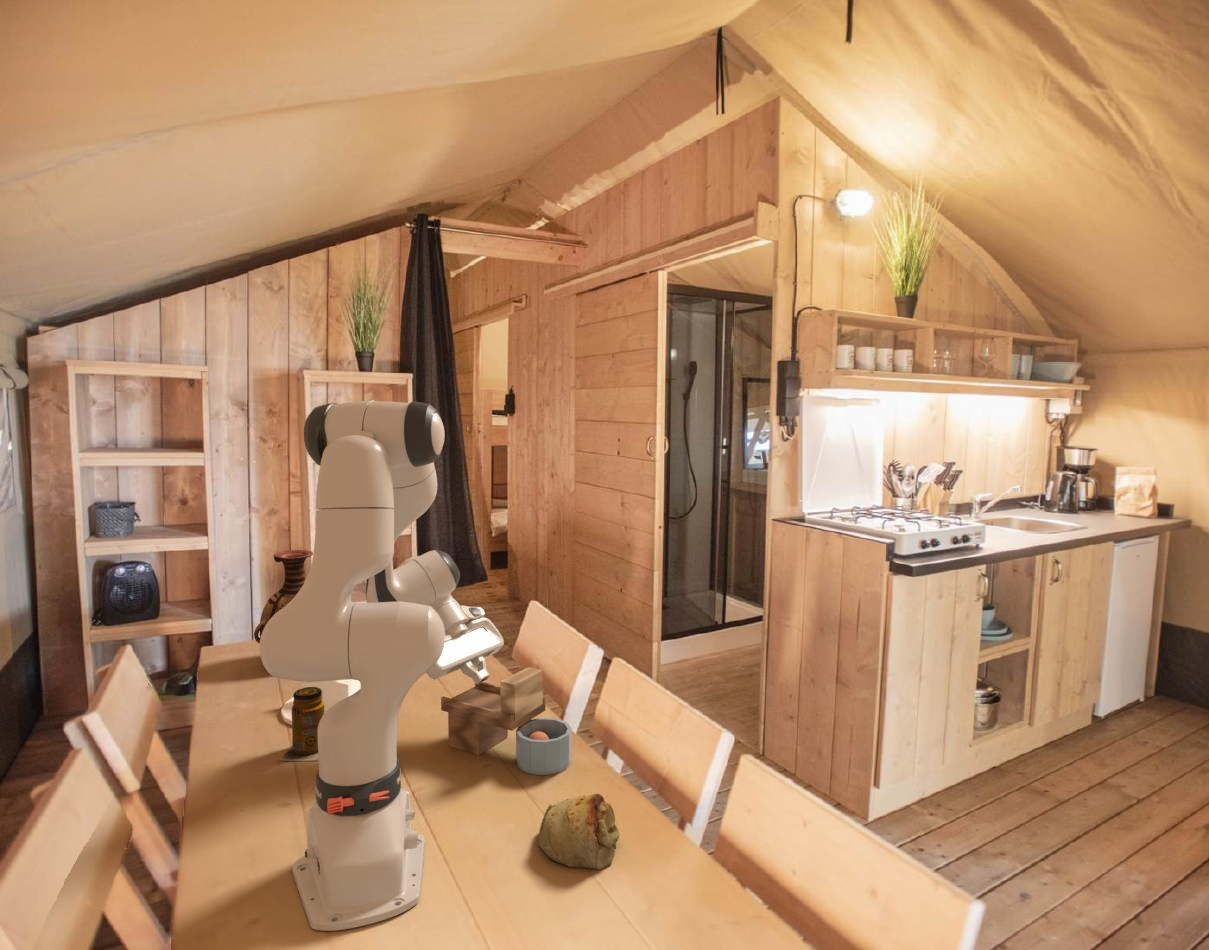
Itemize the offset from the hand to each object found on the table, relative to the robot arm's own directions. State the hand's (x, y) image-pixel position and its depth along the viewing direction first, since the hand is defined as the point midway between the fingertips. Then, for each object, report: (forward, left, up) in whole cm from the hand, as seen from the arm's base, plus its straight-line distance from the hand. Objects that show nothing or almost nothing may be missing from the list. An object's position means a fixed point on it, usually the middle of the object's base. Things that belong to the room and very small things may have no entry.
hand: (483, 680), depth 143 cm
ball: (-10, -8, -10) cm, 17 cm away
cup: (-12, -9, -13) cm, 20 cm away
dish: (+31, +27, -14) cm, 43 cm away
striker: (-8, -6, -4) cm, 11 cm away
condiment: (+10, +34, -13) cm, 37 cm away
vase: (+66, +37, -13) cm, 76 cm away
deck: (-2, -1, -13) cm, 13 cm away
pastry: (-39, -6, -14) cm, 42 cm away
